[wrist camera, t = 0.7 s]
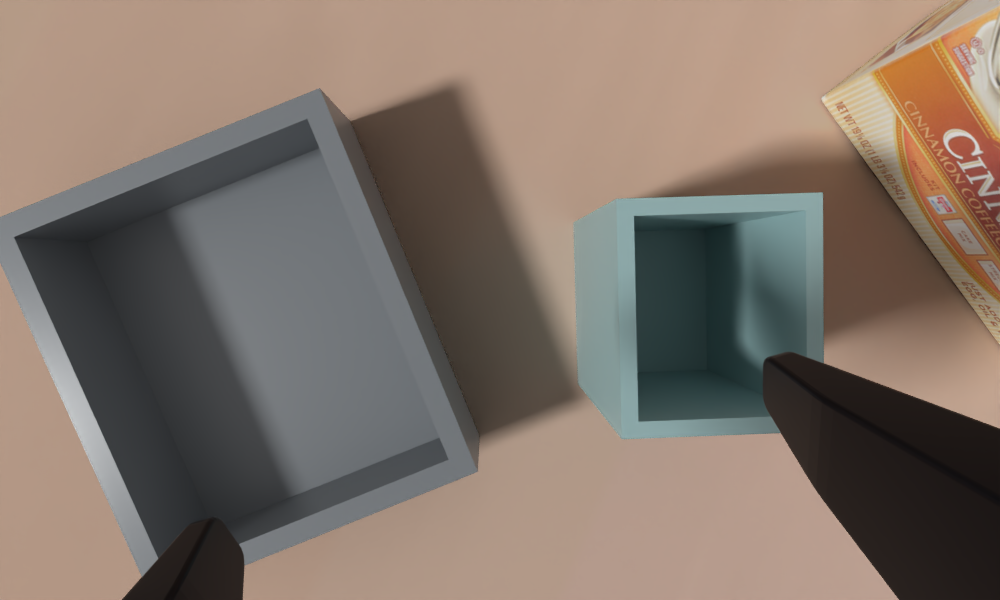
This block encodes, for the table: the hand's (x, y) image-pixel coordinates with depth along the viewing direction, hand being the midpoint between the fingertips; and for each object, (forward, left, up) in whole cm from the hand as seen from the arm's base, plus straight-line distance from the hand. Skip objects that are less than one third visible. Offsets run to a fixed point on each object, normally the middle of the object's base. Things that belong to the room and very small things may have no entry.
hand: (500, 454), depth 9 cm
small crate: (+3, -6, -16) cm, 18 cm away
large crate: (-2, +9, -16) cm, 19 cm away
